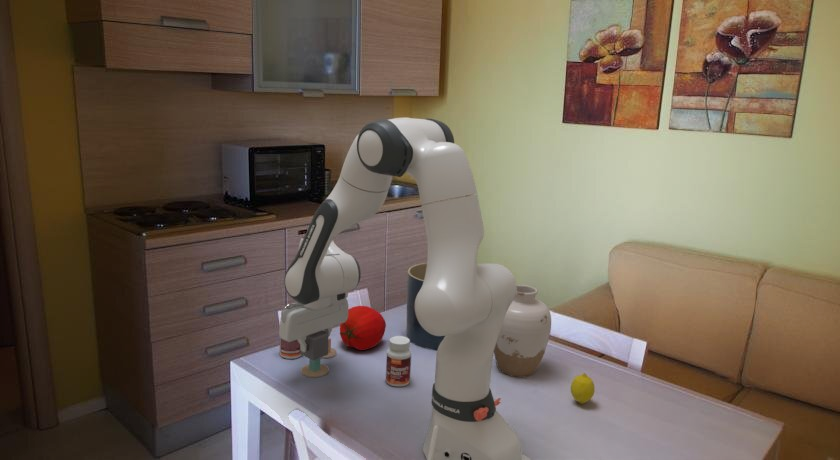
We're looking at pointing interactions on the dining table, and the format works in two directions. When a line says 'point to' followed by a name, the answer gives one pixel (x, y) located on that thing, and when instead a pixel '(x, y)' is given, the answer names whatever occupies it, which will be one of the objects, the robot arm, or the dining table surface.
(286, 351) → the pill bottle
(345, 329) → the tomato
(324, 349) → the charcoal tapered box
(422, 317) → the robot arm
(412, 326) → the planter
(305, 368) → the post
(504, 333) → the vase
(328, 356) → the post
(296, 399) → the dining table surface
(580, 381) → the fruit
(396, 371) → the pill bottle
